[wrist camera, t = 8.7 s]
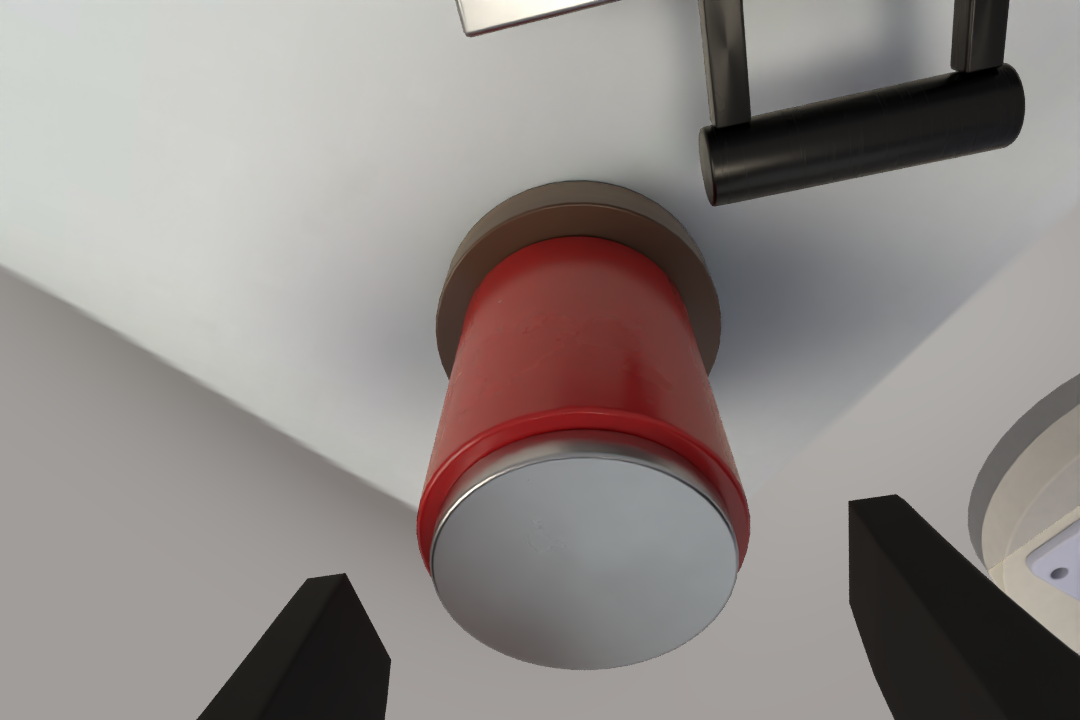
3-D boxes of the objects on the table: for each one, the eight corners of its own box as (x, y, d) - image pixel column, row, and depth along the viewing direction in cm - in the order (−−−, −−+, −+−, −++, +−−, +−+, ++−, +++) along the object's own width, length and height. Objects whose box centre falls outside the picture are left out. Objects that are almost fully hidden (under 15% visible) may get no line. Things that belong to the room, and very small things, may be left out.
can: (736, 311, 16) (838, 540, 10) (603, 461, 18) (623, 718, 13) (540, 188, 15) (526, 371, 9) (424, 367, 17) (351, 606, 11)
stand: (766, 273, 17) (783, 302, 16) (608, 453, 20) (612, 489, 19) (534, 122, 16) (531, 141, 14) (399, 343, 19) (387, 374, 17)
